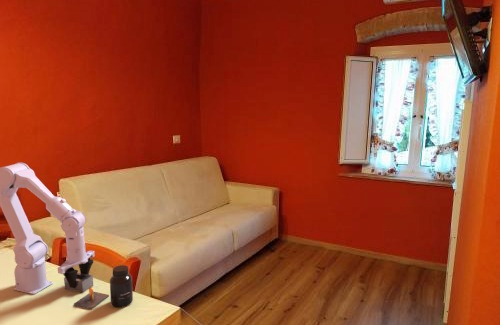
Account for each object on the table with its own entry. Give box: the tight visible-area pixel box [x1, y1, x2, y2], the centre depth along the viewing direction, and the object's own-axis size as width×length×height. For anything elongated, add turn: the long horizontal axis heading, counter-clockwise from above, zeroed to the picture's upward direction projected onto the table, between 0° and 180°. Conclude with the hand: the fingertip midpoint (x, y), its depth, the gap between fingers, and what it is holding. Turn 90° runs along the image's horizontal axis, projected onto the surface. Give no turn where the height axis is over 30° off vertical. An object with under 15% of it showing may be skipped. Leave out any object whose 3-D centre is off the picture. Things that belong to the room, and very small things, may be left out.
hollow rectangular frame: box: [63, 271, 94, 293], centre depth 123 cm, size 8×5×4 cm, turn 72°
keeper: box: [73, 286, 110, 310], centre depth 114 cm, size 7×8×5 cm
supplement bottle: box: [109, 264, 134, 309], centre depth 113 cm, size 7×7×12 cm
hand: (78, 283), depth 123 cm, fingers closed on hollow rectangular frame, 5 cm apart
